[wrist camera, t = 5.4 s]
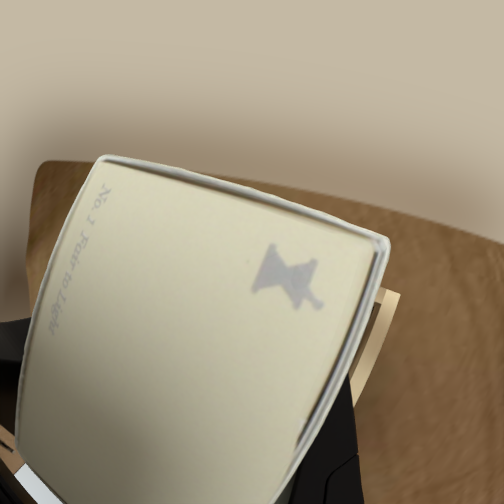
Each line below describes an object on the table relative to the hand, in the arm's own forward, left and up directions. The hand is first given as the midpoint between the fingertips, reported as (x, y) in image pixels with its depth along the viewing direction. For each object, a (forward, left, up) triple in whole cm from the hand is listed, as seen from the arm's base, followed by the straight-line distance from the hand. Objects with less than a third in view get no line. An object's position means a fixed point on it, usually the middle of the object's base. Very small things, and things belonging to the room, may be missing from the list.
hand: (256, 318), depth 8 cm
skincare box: (-1, -1, -7) cm, 7 cm away
